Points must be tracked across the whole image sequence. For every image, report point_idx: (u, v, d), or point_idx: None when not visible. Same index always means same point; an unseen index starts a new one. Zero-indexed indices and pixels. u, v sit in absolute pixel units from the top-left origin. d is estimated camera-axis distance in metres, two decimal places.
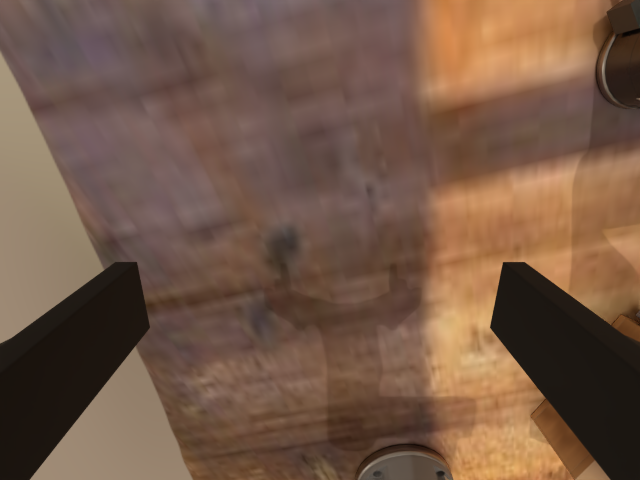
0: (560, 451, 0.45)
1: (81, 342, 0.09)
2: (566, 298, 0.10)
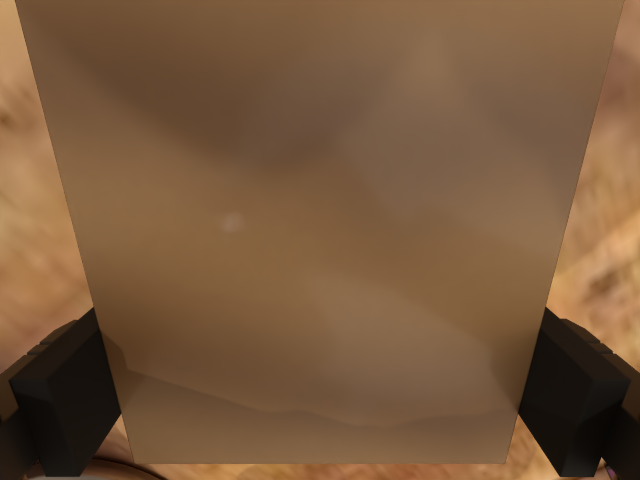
0: None
1: None
2: None
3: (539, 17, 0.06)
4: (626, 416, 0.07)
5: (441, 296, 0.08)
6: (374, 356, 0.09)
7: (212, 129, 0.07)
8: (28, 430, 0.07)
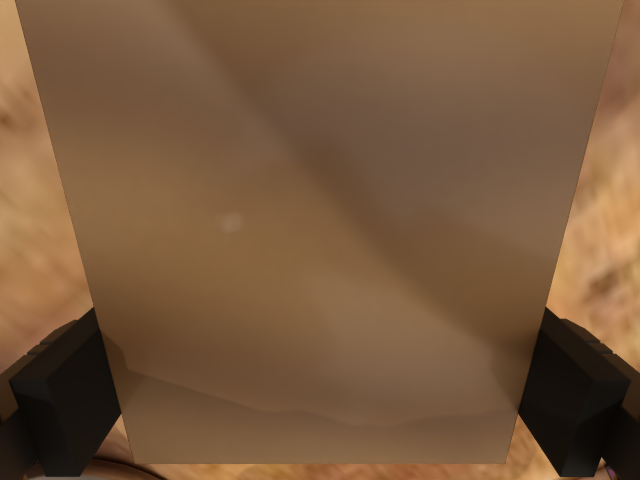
0: None
1: None
2: None
3: (539, 17, 0.06)
4: (626, 416, 0.07)
5: (441, 296, 0.08)
6: (374, 356, 0.09)
7: (212, 129, 0.07)
8: (28, 430, 0.07)
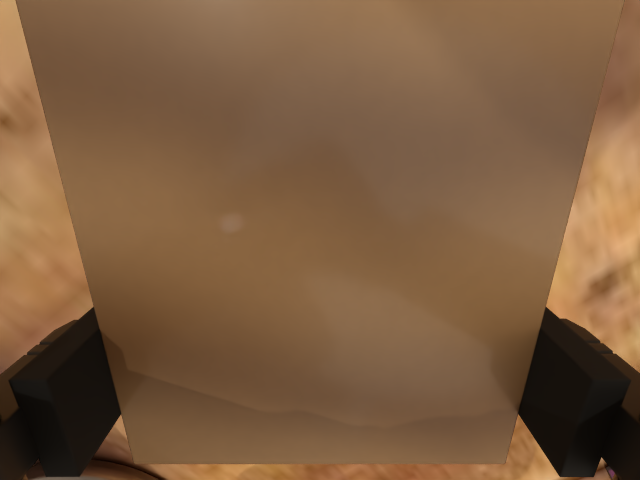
0: None
1: None
2: None
3: (539, 17, 0.06)
4: (626, 417, 0.07)
5: (441, 296, 0.08)
6: (374, 356, 0.09)
7: (213, 129, 0.07)
8: (28, 429, 0.07)
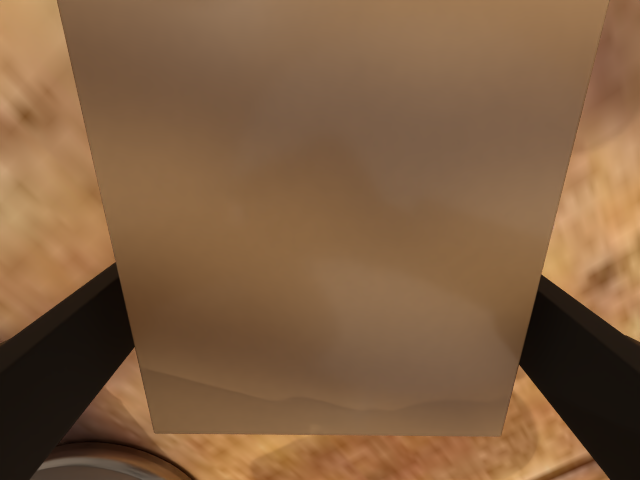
0: None
1: (81, 342, 0.09)
2: (565, 297, 0.10)
3: (531, 16, 0.07)
4: None
5: (441, 275, 0.09)
6: (378, 332, 0.09)
7: (232, 120, 0.07)
8: None
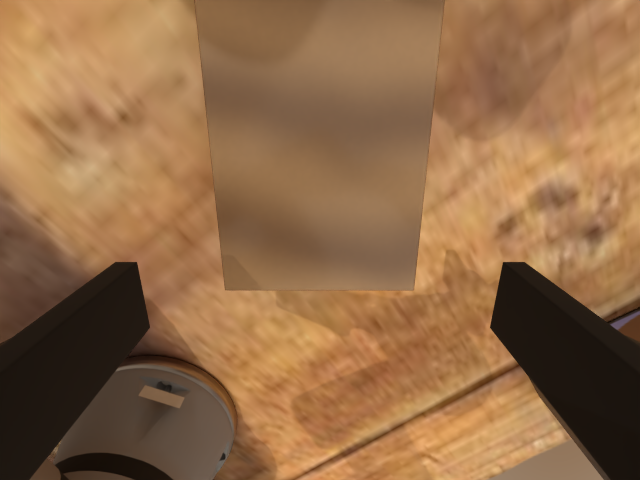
0: None
1: (81, 342, 0.09)
2: (565, 298, 0.10)
3: (405, 74, 0.16)
4: None
5: (375, 195, 0.18)
6: (345, 226, 0.18)
7: (275, 118, 0.16)
8: None
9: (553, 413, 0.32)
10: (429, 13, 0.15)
